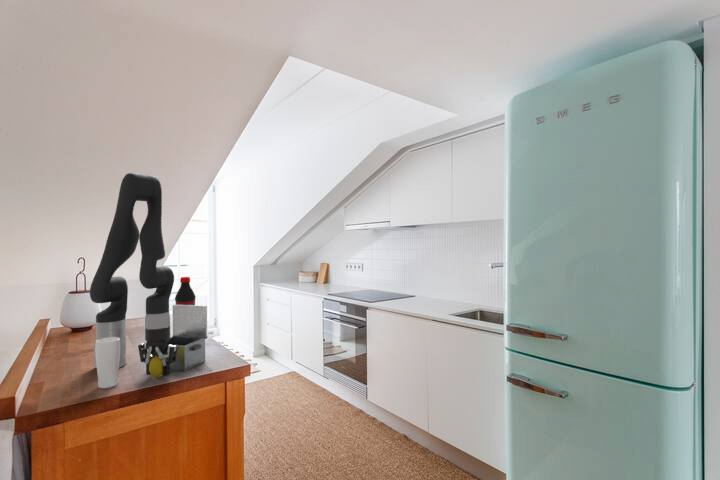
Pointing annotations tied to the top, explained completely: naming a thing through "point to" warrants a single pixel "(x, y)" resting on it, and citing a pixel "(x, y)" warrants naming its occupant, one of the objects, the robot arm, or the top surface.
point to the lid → (190, 321)
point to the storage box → (187, 352)
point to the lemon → (156, 367)
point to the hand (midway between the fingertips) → (158, 374)
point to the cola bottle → (185, 293)
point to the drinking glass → (107, 361)
